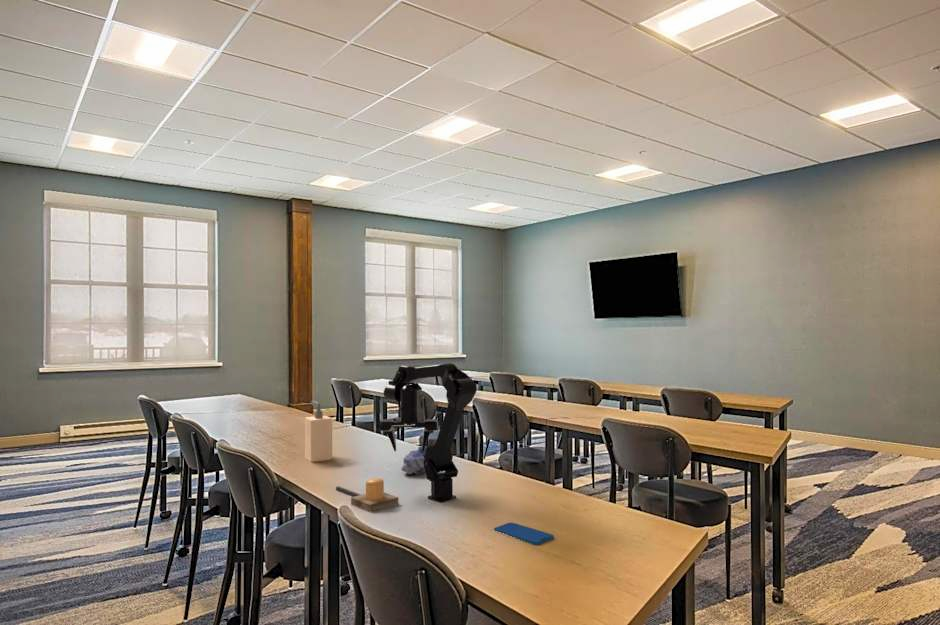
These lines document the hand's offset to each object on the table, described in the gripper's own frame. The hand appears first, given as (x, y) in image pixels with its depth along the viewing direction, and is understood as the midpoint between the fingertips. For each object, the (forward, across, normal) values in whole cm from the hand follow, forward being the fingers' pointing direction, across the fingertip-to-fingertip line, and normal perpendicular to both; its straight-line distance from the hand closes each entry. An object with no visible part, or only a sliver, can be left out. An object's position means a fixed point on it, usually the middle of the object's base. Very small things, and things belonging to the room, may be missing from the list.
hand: (409, 451), depth 189 cm
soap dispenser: (+12, +42, -43) cm, 61 cm away
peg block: (+12, +8, +17) cm, 22 cm away
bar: (+12, +18, +8) cm, 23 cm away
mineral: (+12, -1, -20) cm, 24 cm away
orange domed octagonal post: (+10, +8, +17) cm, 21 cm away
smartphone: (+13, -34, +41) cm, 55 cm away
